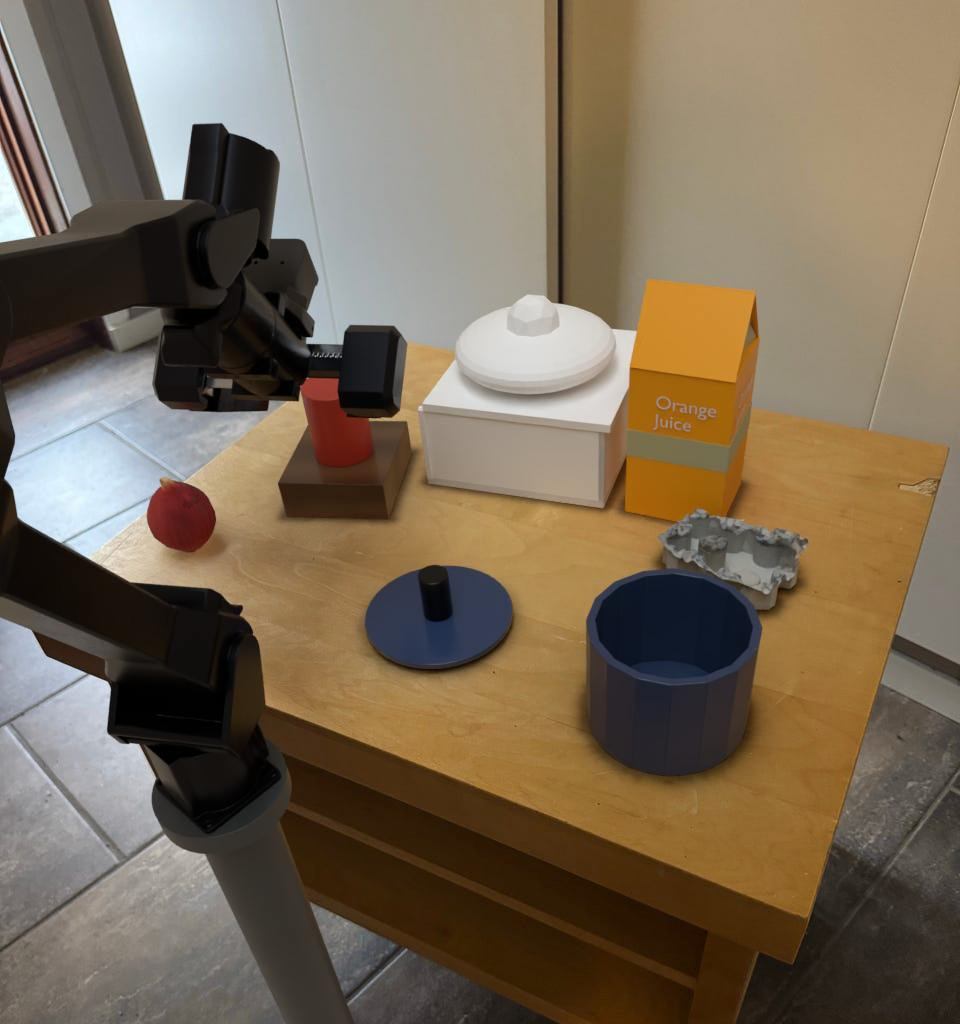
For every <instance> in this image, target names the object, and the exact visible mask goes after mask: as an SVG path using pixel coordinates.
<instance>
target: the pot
mask: <svg viewBox="0 0 960 1024" xmlns="http://www.w3.org/2000/svg"><path fill="white" fill-rule="evenodd" d="M762 634H763V626H762V623H761V620H760V617H759V615H758V613H757V610H756V609H755V607H754V605H753V604H752V603H751V602H750V601H749V600H748V599H747V598H746V597H745V596H744V595H743V594H742V593H741V592H740V591H738V590H737V589H736V588H735V587H734V586H733V585H730V584H728V583H726V582H724V581H721V580H719V579H717V578H715V577H713V576H710V575H708V574H705V573H700V572H693V571H687V570H681V569H674V568H671V569H666V568H661V569H659V568H658V569H649V570H641V571H638V572H636V573H633V574H631V575H628V576H626V577H622V578H620V579H618V580H615V581H613V582H612V583H611V584H610V585H608V587H606V588H605V589H604V590H603V591H602V592H600V593H599V594H598V595H597V596H595V598H594V600H593V602H592V604H591V607H590V609H589V612H588V614H587V616H586V619H585V653H586V654H585V659H586V660H585V662H586V663H585V670H586V671H585V672H586V673H585V676H586V678H585V680H586V681H585V683H586V684H585V685H586V686H585V687H586V688H585V691H586V693H585V695H586V696H585V697H586V700H585V702H586V710H587V721H588V725H589V730H590V731H591V734H592V736H593V737H594V739H595V741H596V742H597V744H598V745H599V746H600V748H602V749H603V750H604V751H605V752H606V753H607V754H608V755H610V757H612V758H613V759H615V760H616V761H618V762H619V763H621V764H623V765H625V766H627V767H629V768H631V769H635V770H637V771H640V772H642V773H647V774H652V775H657V776H658V775H659V776H670V777H672V776H685V775H693V774H695V773H700V772H704V771H706V770H709V769H711V768H713V767H715V766H717V765H719V764H720V763H722V762H723V761H725V760H726V759H728V757H730V756H731V755H732V753H734V752H735V751H736V749H737V748H738V746H739V745H740V743H741V741H742V740H743V738H744V734H745V732H746V726H747V721H748V716H749V711H750V705H751V700H752V693H753V686H754V680H755V676H756V669H757V663H758V658H759V651H760V647H761V645H760V644H761V639H762Z"/></svg>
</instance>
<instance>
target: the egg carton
mask: <svg viewBox="0 0 960 1024" xmlns="http://www.w3.org/2000/svg"><path fill="white" fill-rule="evenodd" d="M656 538H657V539H658V541H659V542H660V543H661V544H662V545H663V546H662V547H663V549H662V563H663V564H664V565H665V566H666V568H665V569H671V568H674V569H681V570H687V571H693V572H700V573H705V574H708V575H710V576H713V577H715V578H717V579H719V580H721V581H724V582H726V583H728V584H730V585H733V586H734V587H735V588H736V589H737V590H738V591H740V592H741V593H742V594H743V595H744V596H745V597H746V598H747V599H748V600H749V601H750V602H751V603H752V604H753V605H754V607H755V609H756V611H757V610H763V611H764V610H765V611H769V610H770V609H772V608H773V607H775V606H776V601H777V596H778V590H779V589H780V588H784V589H788V590H790V589H792V588H793V587H794V586H795V585H796V584H797V579H798V573H799V570H800V569H799V567H800V560H799V556H801V555H802V553H803V554H804V552H805V550H806V549H807V548H808V547H809V540H808V538H807V537H805V536H801V535H800V534H799V533H798V532H795V531H794V532H791V531H790V530H788V529H784V528H778V527H776V528H774V529H773V530H769V529H767V528H766V527H764V526H763V525H760V524H759V525H753V524H750V523H746V522H743V521H742V520H741V519H739V518H733V517H728V516H726V517H720V516H717V515H714V516H709V513H708V512H707V511H705V510H703V509H698V508H696V509H695V511H694V513H693V514H692V515H691V516H690V515H689V514H687V515H685V517H684V518H683V520H681V521H679V522H676V523H674V524H672V525H670V526H668V528H667V530H666V531H665V532H664V533H660V534H658V535H657V536H656Z"/></svg>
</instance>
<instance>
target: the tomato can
mask: <svg viewBox="0 0 960 1024" xmlns="http://www.w3.org/2000/svg"><path fill="white" fill-rule="evenodd" d="M338 381H339V379H328V378H307V379H306V381H305V383H304V384H303V385H302V386H301V388H300V396H301V400H302V404H303V408H304V412H305V417H306V421H307V426H309V430H310V435H311V439H312V443H313V448H314V452H315V456H316V459H317V460H318V461H319V462H320V463H322V464H324V465H327V466H331V467H346V466H351V465H354V464H357V463H360V462H362V461H364V460H365V459H367V458H368V457H369V456H370V455H371V453H372V452H373V448H374V445H373V440H372V434H371V428H370V423H369V421H370V418H350V417H347V413H345V412H344V411H343V410H342V409H341V408H340V404H339V398H338V392H337V390H338Z"/></svg>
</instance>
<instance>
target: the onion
mask: <svg viewBox="0 0 960 1024" xmlns="http://www.w3.org/2000/svg"><path fill="white" fill-rule="evenodd" d="M159 483H160V486H159V487H157V489H156V490H155V491H154V493H153V494H152V496H151V497H150V499H149V502H148V506H147V510H146V521H147V526H148V528H149V531H150V533H151V534H152V536H153V539H155V540H156V541H158V542H159V543H161V544H162V545H163V546H164V547H166V548H168V549H172V550H175V551H179V552H184V553H189V554H192V553H195V552H196V551H198V550H200V549H201V548H203V546H204V545H206V543H208V542H209V541H210V539H211V537H212V536H213V534H214V531H215V528H216V524H217V515H216V510H215V509H214V506H213V504H212V502H211V500H210V498H209V497H208V496H207V494H206V493H205V492H204V491H203V490H202V489H201V488H198V487H197V486H194V485H192V484H189V483H187V482H184V481H177V480H173V479H172V478H170V477H167V476H164V477H161V478H159Z"/></svg>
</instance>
